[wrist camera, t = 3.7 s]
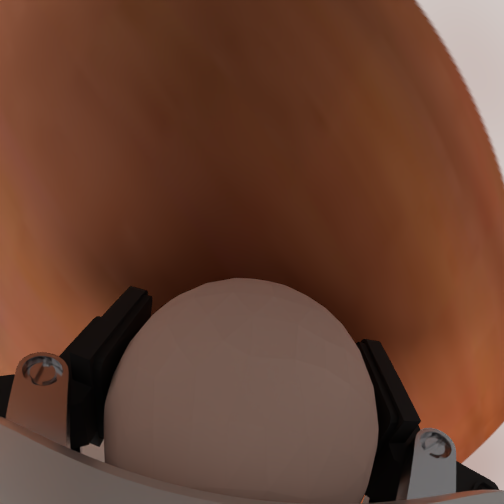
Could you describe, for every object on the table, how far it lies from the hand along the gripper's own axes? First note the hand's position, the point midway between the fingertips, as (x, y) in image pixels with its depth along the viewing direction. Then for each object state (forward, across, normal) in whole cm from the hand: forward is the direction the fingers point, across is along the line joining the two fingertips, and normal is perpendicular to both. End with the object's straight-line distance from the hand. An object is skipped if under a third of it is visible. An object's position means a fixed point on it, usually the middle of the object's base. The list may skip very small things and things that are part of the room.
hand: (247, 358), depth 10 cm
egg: (+2, 0, 0) cm, 2 cm away
